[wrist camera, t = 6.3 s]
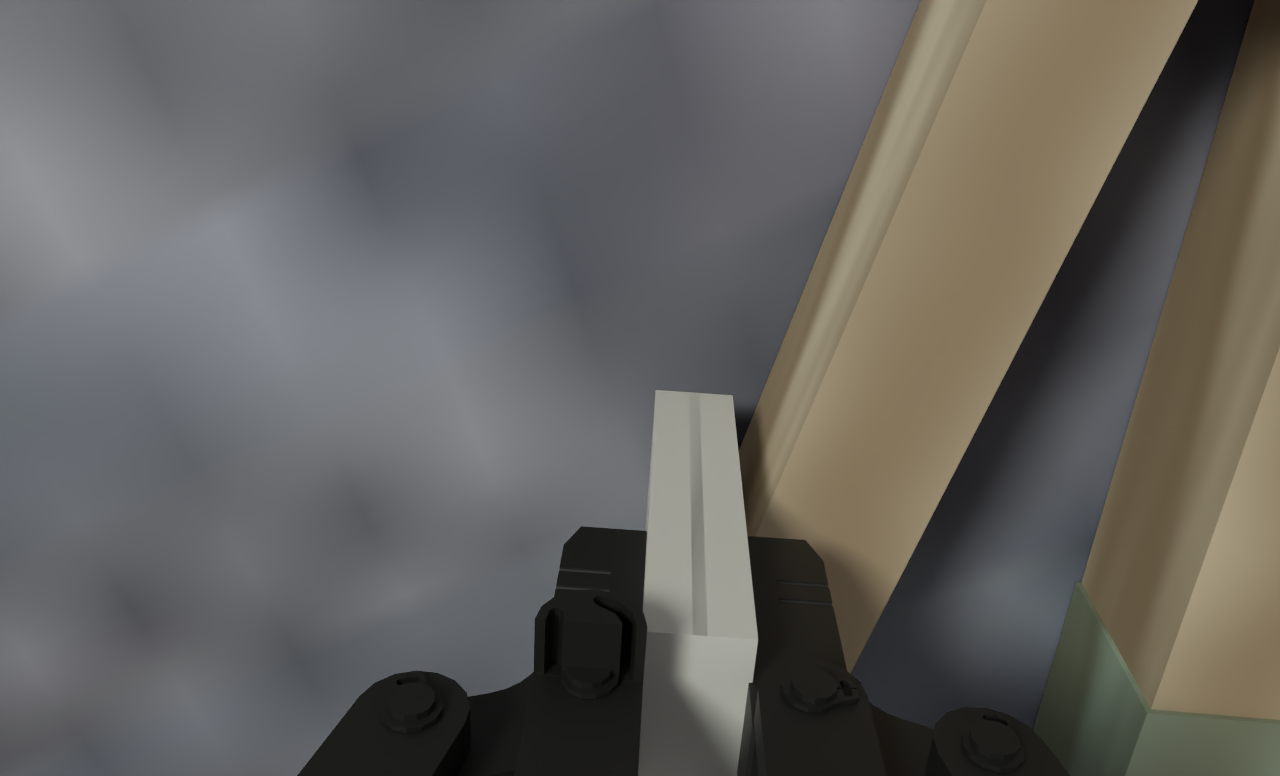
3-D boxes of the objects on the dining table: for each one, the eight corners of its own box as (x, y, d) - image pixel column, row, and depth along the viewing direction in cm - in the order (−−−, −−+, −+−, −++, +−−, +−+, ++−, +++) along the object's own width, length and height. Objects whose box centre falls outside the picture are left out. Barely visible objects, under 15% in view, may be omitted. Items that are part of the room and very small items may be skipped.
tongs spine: (931, 727, 22) (971, 871, 19) (1315, -881, 12) (1550, -1176, 8) (1154, 746, 22) (1232, 893, 19) (1740, -861, 12) (2142, -1152, 8)
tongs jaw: (643, 674, 22) (630, 846, 18) (1084, -425, 14) (1240, -553, 10) (826, 724, 22) (852, 904, 18) (1364, -317, 14) (1628, -399, 10)
